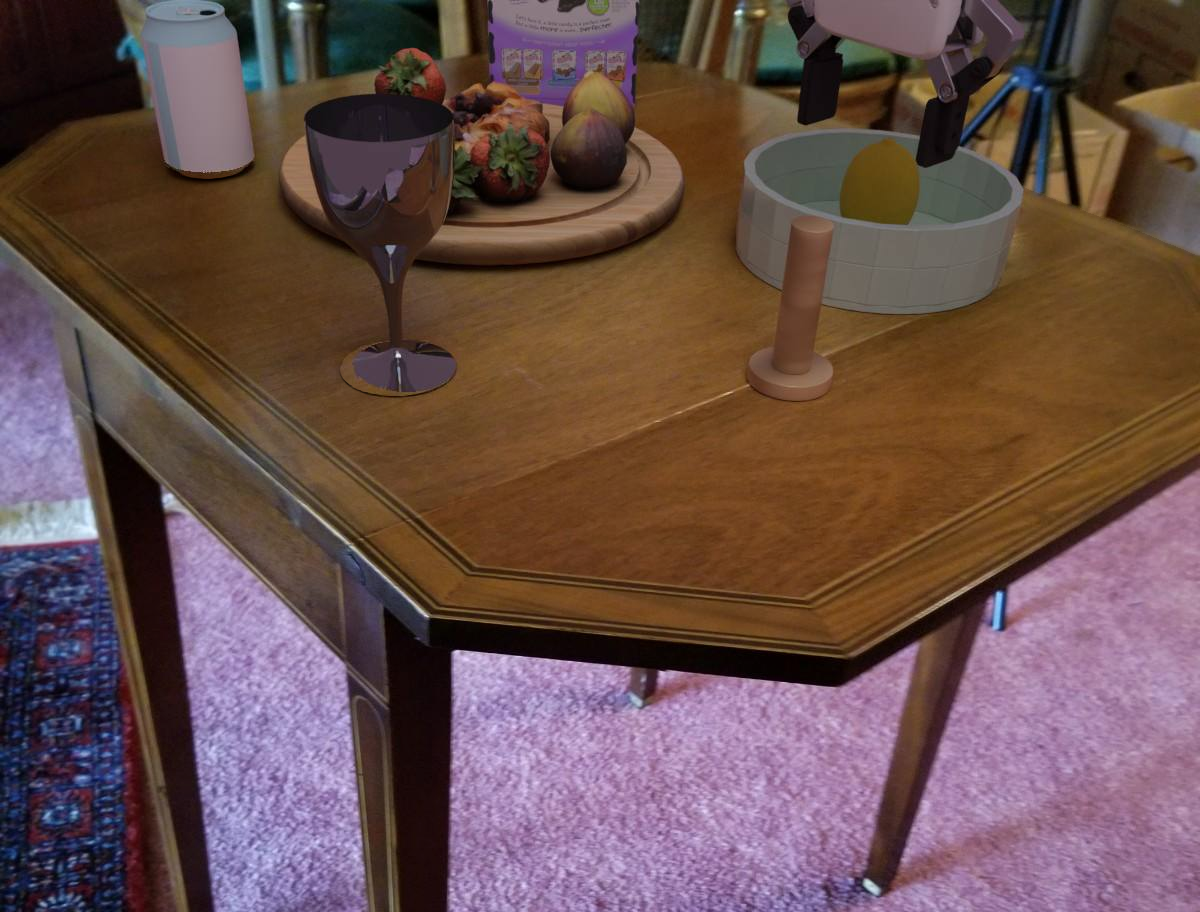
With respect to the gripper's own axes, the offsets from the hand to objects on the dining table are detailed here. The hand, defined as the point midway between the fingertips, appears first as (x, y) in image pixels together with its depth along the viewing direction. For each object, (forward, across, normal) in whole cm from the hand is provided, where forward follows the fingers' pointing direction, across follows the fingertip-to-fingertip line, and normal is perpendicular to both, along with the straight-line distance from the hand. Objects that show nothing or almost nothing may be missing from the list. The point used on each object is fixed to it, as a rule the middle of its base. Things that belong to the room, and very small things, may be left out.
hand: (873, 140), depth 77 cm
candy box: (+10, +45, -11) cm, 47 cm away
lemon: (+10, +4, -7) cm, 13 cm away
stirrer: (+11, -6, +12) cm, 17 cm away
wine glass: (+10, +10, +30) cm, 34 cm away
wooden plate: (+10, +30, +9) cm, 33 cm away
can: (+10, +47, +24) cm, 54 cm away
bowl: (+11, +4, -7) cm, 13 cm away
